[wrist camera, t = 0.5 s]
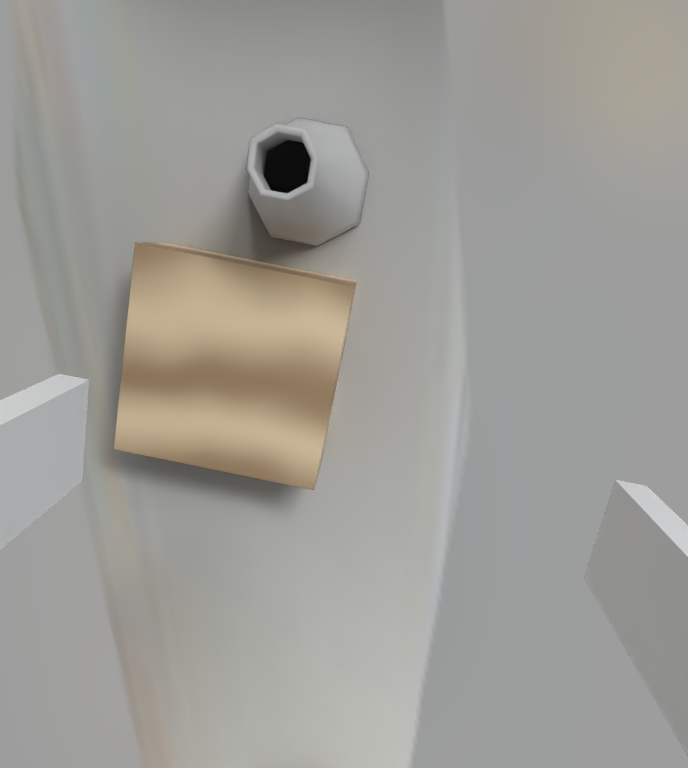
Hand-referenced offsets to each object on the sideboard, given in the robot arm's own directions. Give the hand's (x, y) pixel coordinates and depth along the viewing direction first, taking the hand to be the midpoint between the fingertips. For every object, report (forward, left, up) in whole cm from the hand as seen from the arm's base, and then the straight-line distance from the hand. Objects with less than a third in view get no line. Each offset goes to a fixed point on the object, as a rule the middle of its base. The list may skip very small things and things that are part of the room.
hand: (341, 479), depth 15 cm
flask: (-8, -5, -23) cm, 25 cm away
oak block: (+3, -7, -24) cm, 25 cm away
